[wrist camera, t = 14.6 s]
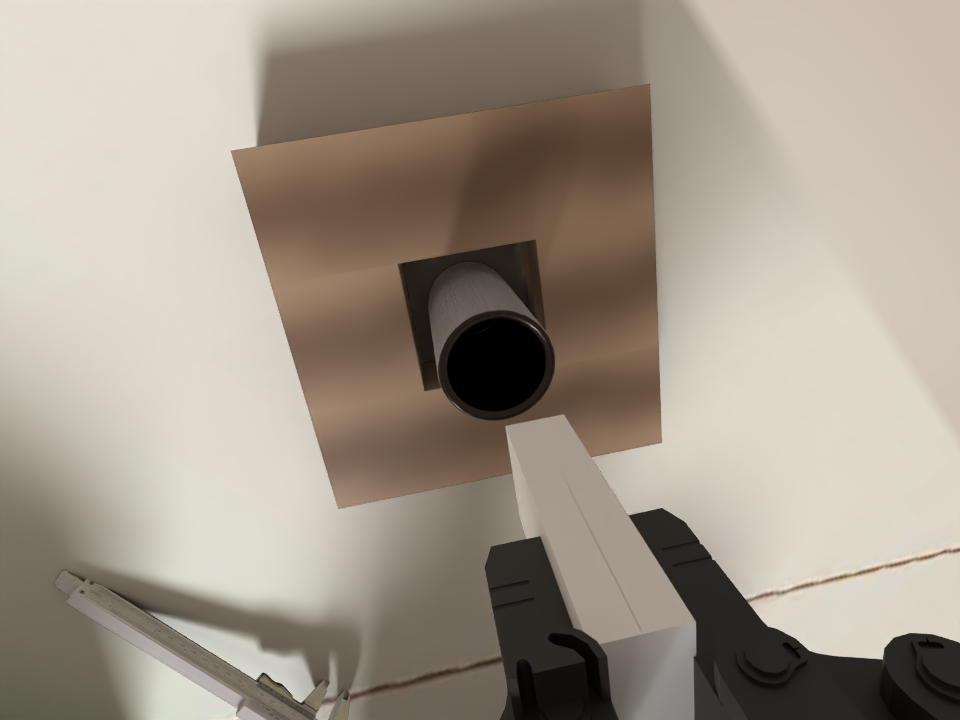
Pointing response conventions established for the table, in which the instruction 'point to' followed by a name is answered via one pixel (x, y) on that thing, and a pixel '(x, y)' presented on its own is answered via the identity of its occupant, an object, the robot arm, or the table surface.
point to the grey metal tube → (487, 344)
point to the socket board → (455, 229)
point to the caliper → (194, 657)
